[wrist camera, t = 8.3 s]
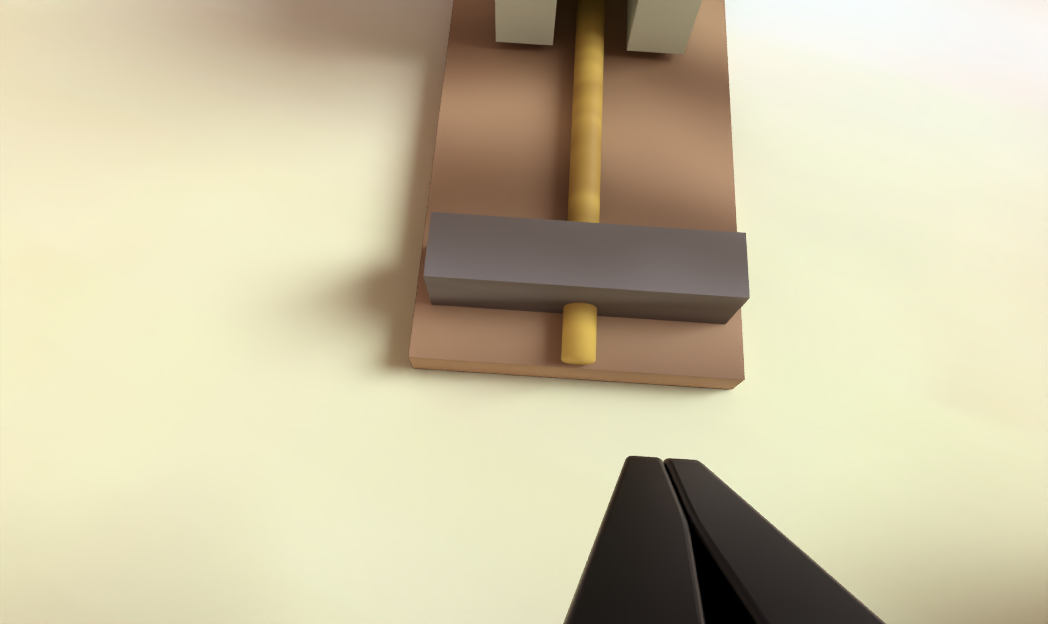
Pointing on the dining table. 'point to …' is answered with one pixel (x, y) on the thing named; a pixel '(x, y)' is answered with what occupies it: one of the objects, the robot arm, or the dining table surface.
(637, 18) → the tall pale green box
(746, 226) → the dining table surface
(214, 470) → the dining table surface
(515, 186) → the brown board with bar
